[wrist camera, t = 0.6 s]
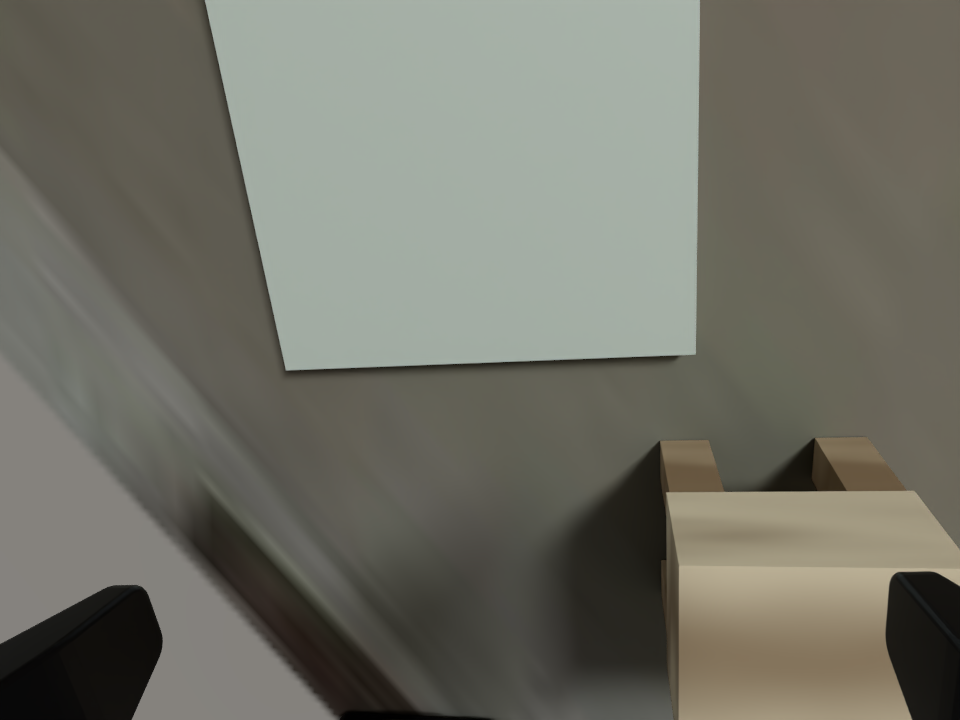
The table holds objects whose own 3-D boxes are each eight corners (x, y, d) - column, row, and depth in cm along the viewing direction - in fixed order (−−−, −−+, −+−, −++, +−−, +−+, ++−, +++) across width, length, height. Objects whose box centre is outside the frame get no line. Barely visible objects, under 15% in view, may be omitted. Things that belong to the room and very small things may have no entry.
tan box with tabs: (851, 600, 22) (935, 771, 17) (658, 596, 24) (678, 757, 18) (870, 433, 20) (973, 568, 15) (657, 437, 21) (678, 565, 16)
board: (691, 343, 20) (695, 354, 19) (295, 360, 22) (285, 370, 21) (696, -160, 16) (701, -172, 15) (202, -81, 18) (185, -87, 17)
